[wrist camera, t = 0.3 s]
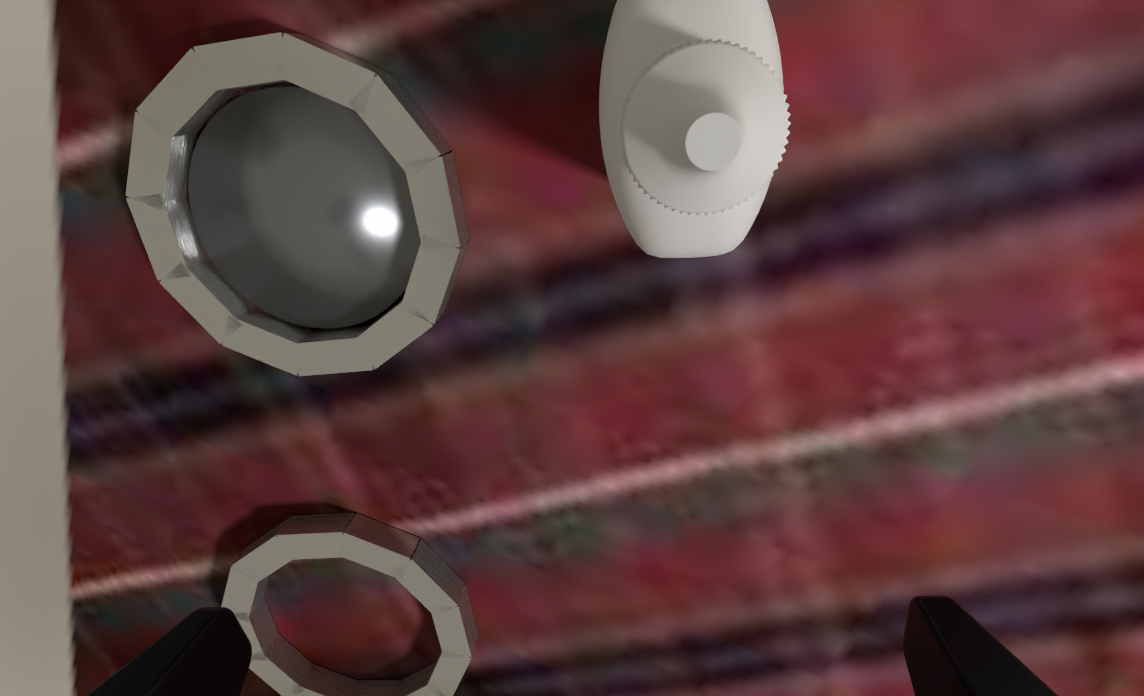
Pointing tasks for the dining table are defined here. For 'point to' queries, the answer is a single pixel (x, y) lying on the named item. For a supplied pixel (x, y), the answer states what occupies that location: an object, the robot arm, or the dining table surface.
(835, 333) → the dining table surface
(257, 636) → the collar
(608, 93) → the eye dropper bottle
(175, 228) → the collar
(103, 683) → the robot arm
